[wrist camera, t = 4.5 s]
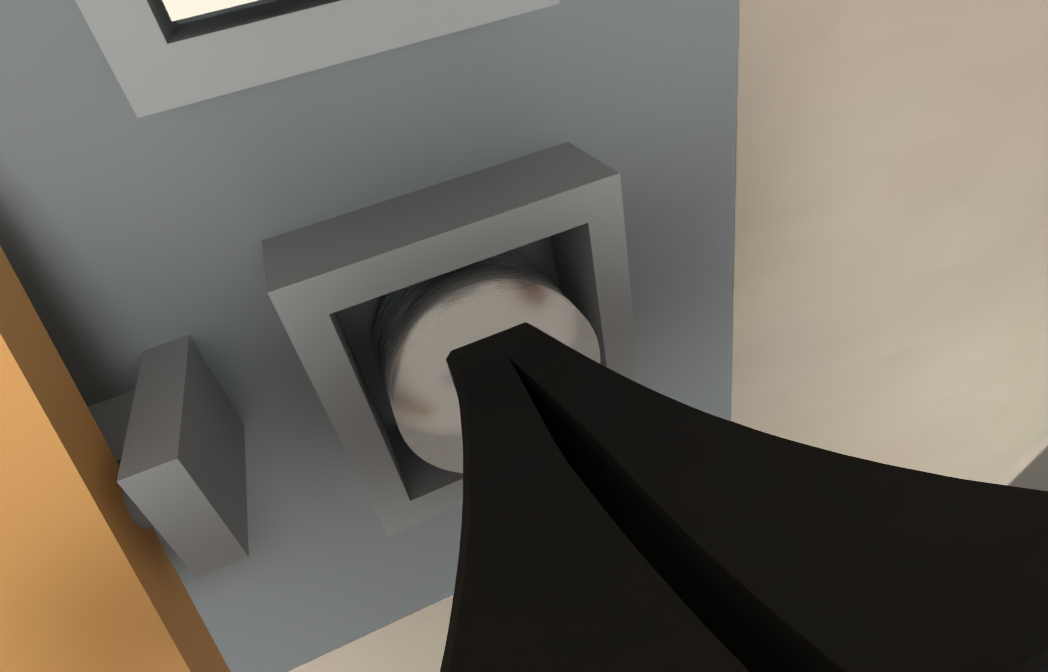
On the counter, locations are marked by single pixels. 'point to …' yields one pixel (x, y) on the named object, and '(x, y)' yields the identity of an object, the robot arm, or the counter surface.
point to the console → (347, 254)
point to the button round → (461, 341)
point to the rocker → (76, 529)
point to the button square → (198, 7)
